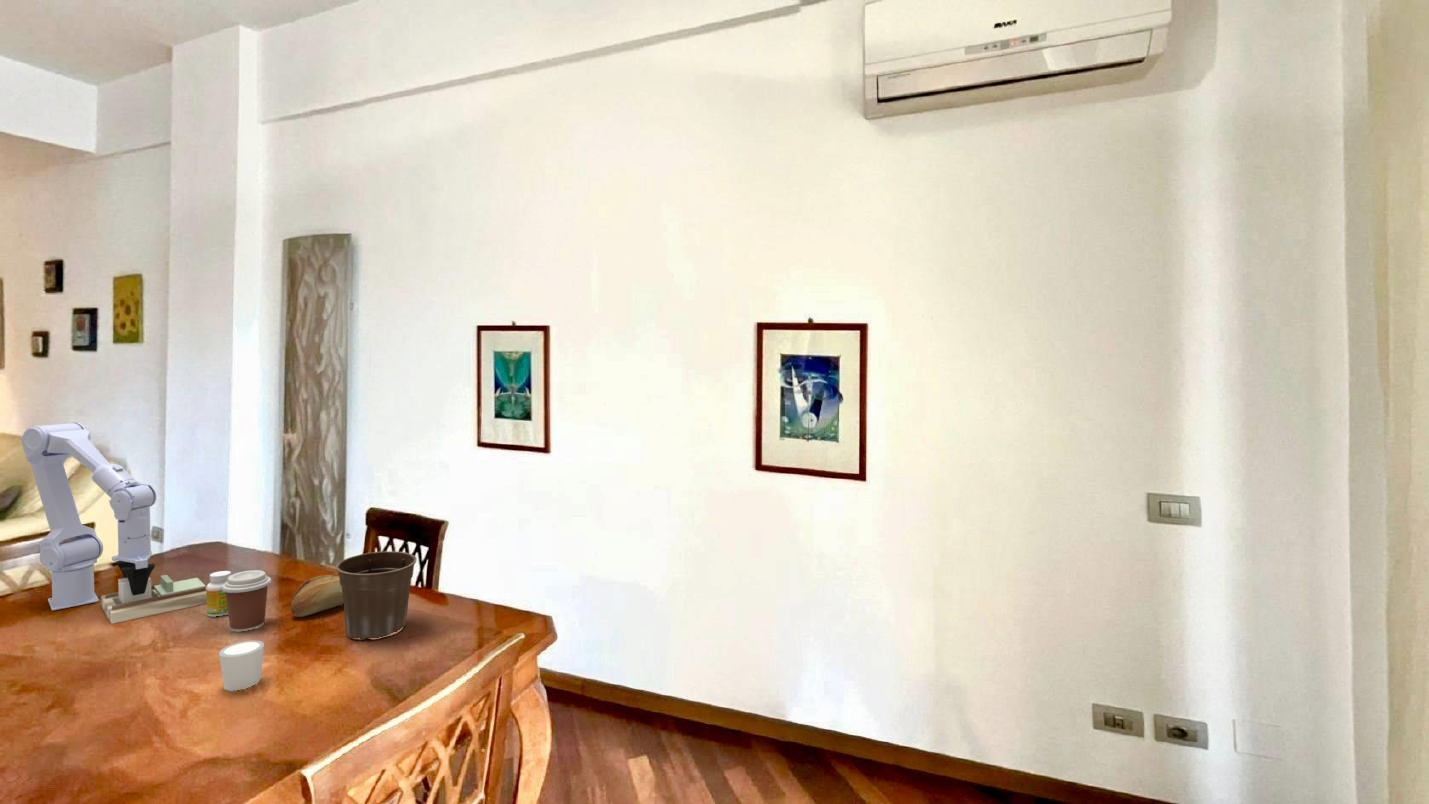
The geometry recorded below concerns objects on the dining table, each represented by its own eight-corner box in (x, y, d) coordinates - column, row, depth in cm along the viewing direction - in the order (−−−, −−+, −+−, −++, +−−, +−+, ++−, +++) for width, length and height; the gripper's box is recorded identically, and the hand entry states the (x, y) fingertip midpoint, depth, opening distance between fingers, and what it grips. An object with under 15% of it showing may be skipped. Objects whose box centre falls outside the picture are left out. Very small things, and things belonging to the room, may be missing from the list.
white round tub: (235, 674, 122) (235, 639, 122) (272, 674, 123) (272, 639, 122) (210, 693, 115) (209, 656, 115) (249, 692, 116) (249, 656, 115)
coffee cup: (232, 638, 137) (231, 585, 136) (215, 627, 142) (214, 576, 141) (279, 624, 145) (278, 573, 144) (261, 614, 150) (260, 565, 149)
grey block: (118, 599, 150) (118, 579, 150) (146, 593, 154) (145, 574, 154) (123, 604, 147) (123, 584, 147) (151, 599, 151) (151, 578, 151)
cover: (154, 589, 156) (153, 576, 156) (197, 580, 163) (197, 568, 163) (161, 598, 151) (161, 584, 151) (205, 589, 158) (205, 576, 157)
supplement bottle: (219, 618, 147) (218, 578, 146) (200, 616, 148) (200, 576, 147) (240, 609, 152) (240, 570, 151) (222, 607, 153) (222, 568, 152)
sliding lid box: (101, 606, 151) (100, 592, 151) (195, 587, 165) (195, 574, 165) (111, 624, 142) (111, 609, 142) (210, 602, 156) (210, 589, 156)
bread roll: (278, 616, 149) (278, 584, 149) (337, 596, 163) (337, 566, 162) (305, 624, 145) (305, 591, 145) (363, 602, 159) (363, 572, 159)
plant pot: (431, 624, 147) (432, 557, 146) (368, 652, 133) (368, 578, 132) (385, 611, 154) (385, 547, 153) (320, 636, 140) (319, 565, 139)
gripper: (105, 533, 151) (107, 588, 152) (118, 545, 142) (119, 603, 143) (144, 527, 156) (145, 580, 157) (158, 539, 148) (160, 595, 148)
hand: (135, 591), depth 150 cm, fingers closed on grey block, 5 cm apart
